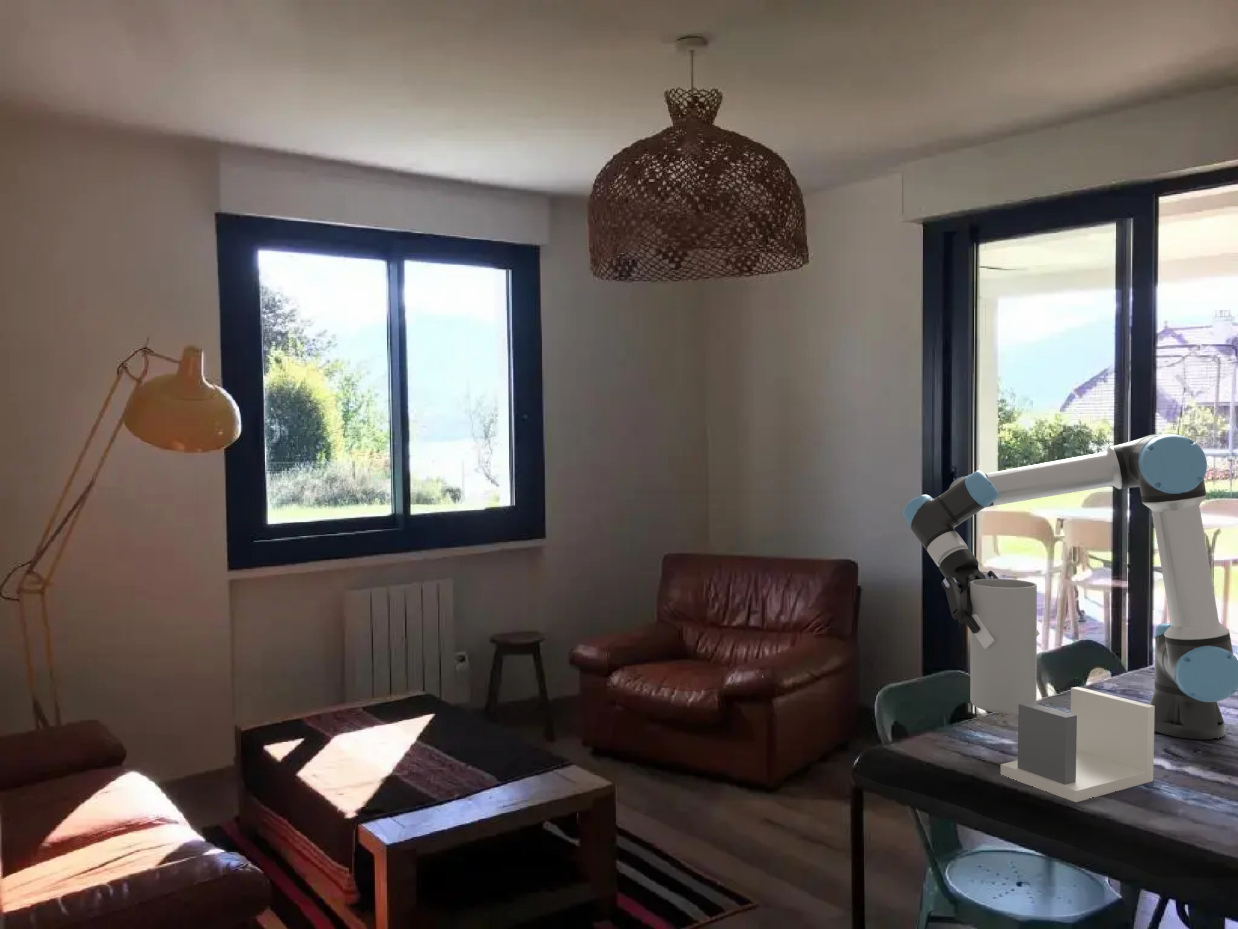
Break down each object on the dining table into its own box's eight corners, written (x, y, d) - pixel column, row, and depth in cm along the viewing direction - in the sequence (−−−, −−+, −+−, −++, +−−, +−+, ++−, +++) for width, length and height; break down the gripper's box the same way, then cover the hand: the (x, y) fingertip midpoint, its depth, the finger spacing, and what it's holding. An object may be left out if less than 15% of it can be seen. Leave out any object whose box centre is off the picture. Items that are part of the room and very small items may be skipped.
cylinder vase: (957, 702, 205) (957, 581, 204) (1003, 695, 210) (1003, 577, 209) (1002, 718, 194) (1002, 589, 193) (1050, 710, 198) (1050, 585, 198)
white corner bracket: (1076, 756, 198) (1077, 686, 198) (1153, 781, 184) (1154, 706, 184) (1000, 774, 187) (1001, 701, 187) (1076, 802, 173) (1077, 722, 173)
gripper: (983, 565, 220) (1042, 645, 208) (902, 573, 208) (958, 659, 196) (1003, 543, 216) (1064, 624, 203) (921, 550, 204) (980, 637, 191)
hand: (1012, 641), depth 199 cm, fingers closed on cylinder vase, 12 cm apart
